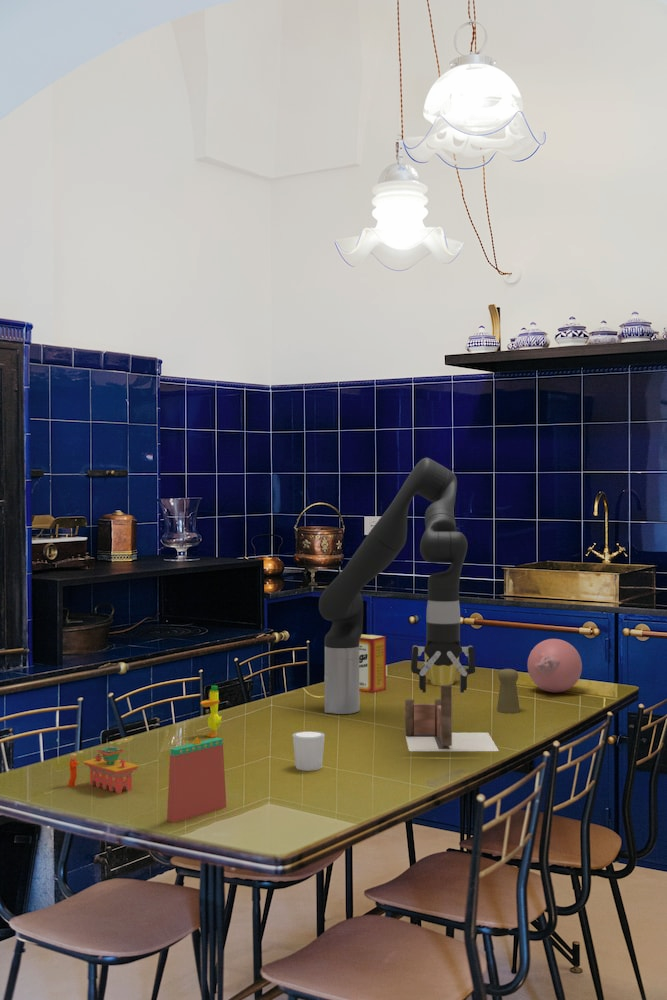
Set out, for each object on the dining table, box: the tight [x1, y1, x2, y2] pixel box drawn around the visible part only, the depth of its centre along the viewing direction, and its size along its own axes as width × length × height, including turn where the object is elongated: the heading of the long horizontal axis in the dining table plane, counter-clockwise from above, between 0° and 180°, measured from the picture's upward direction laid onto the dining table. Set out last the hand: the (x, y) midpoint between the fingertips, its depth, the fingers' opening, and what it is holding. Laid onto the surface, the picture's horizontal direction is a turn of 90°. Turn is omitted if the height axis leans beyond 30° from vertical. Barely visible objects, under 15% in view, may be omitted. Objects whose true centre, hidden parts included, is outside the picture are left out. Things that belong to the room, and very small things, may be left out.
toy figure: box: [200, 685, 222, 738], centre depth 255 cm, size 7×4×12 cm, turn 141°
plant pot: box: [424, 652, 460, 687], centre depth 323 cm, size 10×10×10 cm
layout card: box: [404, 732, 500, 752], centre depth 248 cm, size 20×18×1 cm
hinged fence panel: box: [437, 685, 453, 746], centre depth 246 cm, size 12×2×14 cm, turn 2°
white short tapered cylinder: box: [292, 730, 326, 772], centre depth 227 cm, size 7×7×7 cm
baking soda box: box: [359, 633, 387, 694], centre depth 314 cm, size 10×6×16 cm
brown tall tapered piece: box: [496, 668, 521, 714], centre depth 283 cm, size 6×6×11 cm
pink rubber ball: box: [527, 638, 583, 694], centre depth 307 cm, size 15×20×15 cm
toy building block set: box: [67, 736, 227, 824], centre depth 206 cm, size 12×35×14 cm, turn 48°
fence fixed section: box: [404, 698, 441, 737], centre depth 254 cm, size 9×2×8 cm, turn 89°
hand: (442, 692), depth 241 cm, fingers open, 8 cm apart
